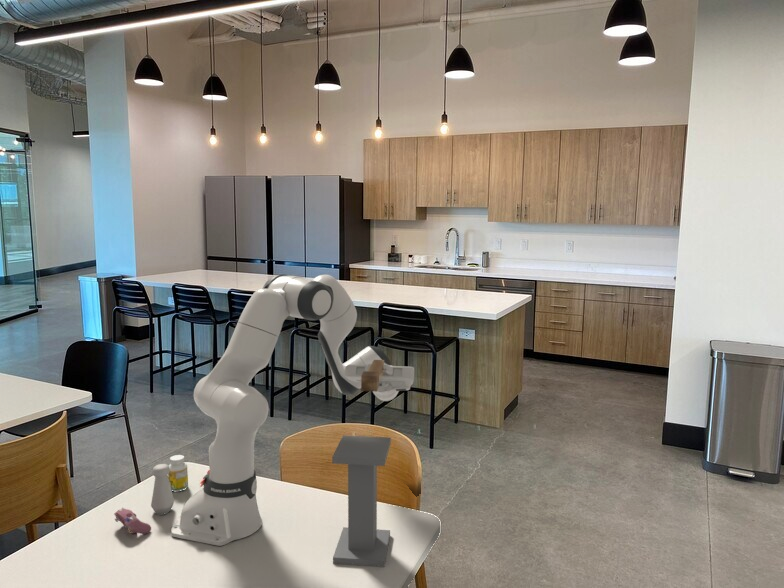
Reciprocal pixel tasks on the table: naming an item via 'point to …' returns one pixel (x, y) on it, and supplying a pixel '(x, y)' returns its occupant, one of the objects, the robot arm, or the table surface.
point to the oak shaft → (372, 376)
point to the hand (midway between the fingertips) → (377, 366)
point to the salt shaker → (162, 490)
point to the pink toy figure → (131, 521)
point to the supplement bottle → (178, 473)
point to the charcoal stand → (362, 501)
